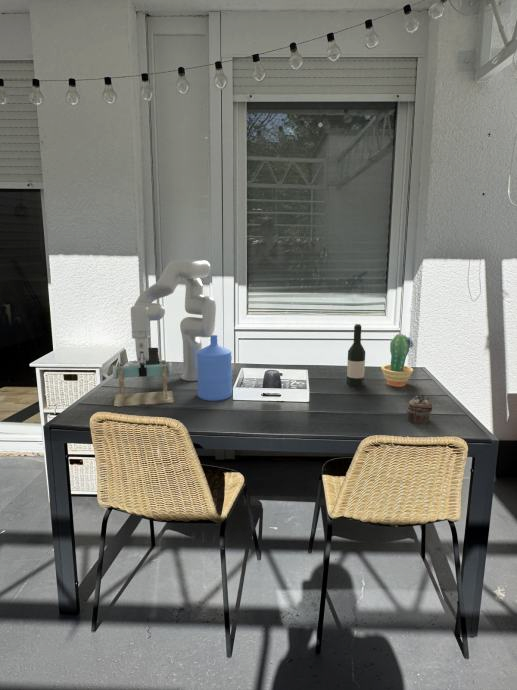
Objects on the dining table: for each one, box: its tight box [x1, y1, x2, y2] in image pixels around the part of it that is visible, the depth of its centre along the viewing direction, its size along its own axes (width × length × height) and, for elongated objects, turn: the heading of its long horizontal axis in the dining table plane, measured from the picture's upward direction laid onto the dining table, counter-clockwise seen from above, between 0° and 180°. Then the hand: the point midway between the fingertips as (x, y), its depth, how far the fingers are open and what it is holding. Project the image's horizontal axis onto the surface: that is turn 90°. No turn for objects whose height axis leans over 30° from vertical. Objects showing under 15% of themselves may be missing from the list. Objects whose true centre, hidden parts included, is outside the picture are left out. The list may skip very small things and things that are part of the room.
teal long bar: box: [112, 361, 173, 380], centre depth 215 cm, size 25×6×6 cm, turn 103°
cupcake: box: [405, 394, 433, 424], centre depth 194 cm, size 10×10×10 cm
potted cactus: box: [380, 333, 414, 388], centre depth 239 cm, size 15×15×25 cm
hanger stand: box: [113, 359, 174, 407], centre depth 216 cm, size 25×12×16 cm, turn 103°
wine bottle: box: [346, 323, 366, 388], centre depth 238 cm, size 8×8×30 cm
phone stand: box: [146, 347, 161, 365], centre depth 267 cm, size 9×6×12 cm, turn 178°
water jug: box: [197, 334, 233, 402], centre depth 221 cm, size 16×16×28 cm
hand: (143, 374), depth 215 cm, fingers open, 5 cm apart
